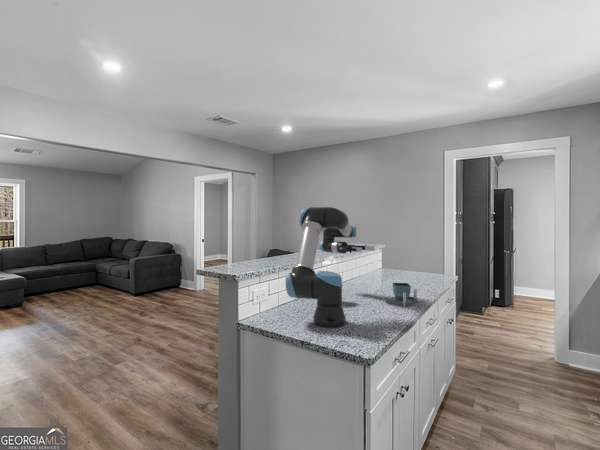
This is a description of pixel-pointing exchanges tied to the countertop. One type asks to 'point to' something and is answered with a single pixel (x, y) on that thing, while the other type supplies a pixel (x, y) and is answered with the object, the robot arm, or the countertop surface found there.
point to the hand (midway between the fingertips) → (368, 249)
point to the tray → (404, 302)
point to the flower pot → (401, 290)
